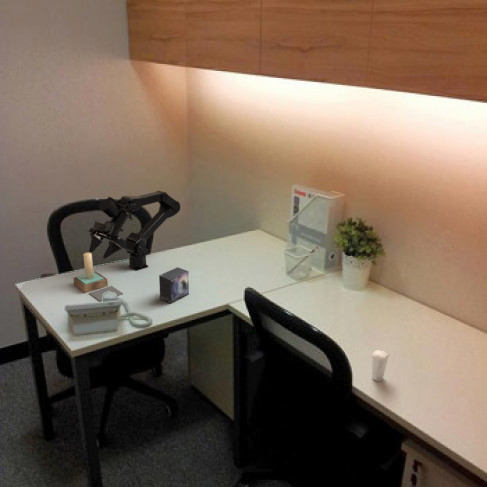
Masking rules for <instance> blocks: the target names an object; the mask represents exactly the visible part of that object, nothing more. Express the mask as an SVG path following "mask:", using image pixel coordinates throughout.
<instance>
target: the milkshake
mask: <svg viewBox="0 0 487 487" xmlns="http://www.w3.org/2000/svg"><path fill="white" fill-rule="evenodd" d="M371 355H372V356H371V357H372V360H371V361H372V362H371V363H372V367H371V369H372V370H371V378H372V380H373V381H375V382H383V380H384V377H385V372H386V368H387V363H388V359H389V356H390V354H387V352H385V351H384V350H381V349H380V350H379V349H377V350H375V351H373V352H372V354H371Z"/></svg>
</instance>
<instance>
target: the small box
mask: <svg viewBox="0 0 487 487" xmlns="http://www.w3.org/2000/svg"><path fill="white" fill-rule="evenodd" d="M189 274H190V272H189V271H188V270H186V269H183V268H180V267H178V266H177V267H175V268H172V269H171V270H170V269H169V270H168V271H166V272H164V273H163V272H162V273H161V274H159V275H158V277H159V278H158V281H159V300H161V301H163V302H166V303H168V304H170V305H171V304H173V303H175V302H177V301H178V300H181V299H183V298H186V297H187V296H189V295H190V289H189V287H190V286H189V285H190V284H189V283H190V281H189Z"/></svg>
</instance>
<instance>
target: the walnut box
mask: <svg viewBox="0 0 487 487" xmlns="http://www.w3.org/2000/svg"><path fill="white" fill-rule="evenodd" d="M93 272H95V273H96V274H98V275H99V276H101V277H103V278H104V279H103V280H100V281H96V282H93V283H90V284H86V285H84V284H83V283H81V282H80V281H79V280H77V279H76V277H79V276H83V275H86V274H81V275H78V276H74V277H73V278H72V282H73V286H75V287H76V288H77V289H78V290H80V291H81V292H83V293H84V294H87V293H90V292H94V291H97V290H100V289H103V288H106V287H109V286H108V278H107V277H106V276H103V275H102V274H100V273H99V272H97V271H96V270H95V271H94V270H93Z"/></svg>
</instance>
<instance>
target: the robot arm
mask: <svg viewBox="0 0 487 487" xmlns="http://www.w3.org/2000/svg"><path fill="white" fill-rule="evenodd" d="M155 203H158V204H159V208H158V211H157V212H156V213H155V215H153V217H152V218H151V219H150V220H149V221H148V222H147V223H146V224H145V225H144V226H143V227H141V229H140V230H139V231H138V232H133V231H132V232H130V234H129V235H128V236H127V237H125V239H123V238H122V237H121V236H119V234H120V232H121V233H123V231H124V229H123V227H124V225H125V224H126V223H127V221H128V220H129V221H132V220H133V217H132V213H133V212H137V211H139V210H140V209H141V208H142V207H145V206H147V205H151V204H155ZM98 206H99V207H98V209H99V210H100V211H101V212H102V213H103V214H105V215H106V216H107V217H108V218H109V219H110V220H105V222H101V221H97V220H94V224H93V227H90V228H89V230H88V234H89V236H90V238H91V242H90V246H89V250H88V252H90V253H93V252H94V251H96V249H97V248H98V247H99V246H100V245H101V244H102V243H103V240H107V241H108V247H107V248H106V250H105V252H104V254H103V256H102V258H103V259H104V260H106V259H107V258H109V257H110V256H112V255H113V254H114V253H117V252H118V251H120V250H121V251H122V250H123V249H124V250H125V251H126V253H127V254H129V258H128V263H129V264H128V267H129V268H131V269H133V271H134V270H135V271H139V270H142V269H145V268H148V267H149V265H148V264H147V256H148V255H149V252H150V250H149V249H148V248H147V247H146V246H147V241H148V239H149V238H150V237H151V236H152V235H153V234H154V233H155V232H156V231H157V230H158V229H159V228H160V227H161V225H163V224H164V222H165V221H166V220H167V219H169V218H172V217H175V216H176V215H177V214H178V213H179V212H180V210H181V203H180V201H178V200H176V199H174V198H173V197H171V195H169V194H168V192H165V191H162V190H156V191H153V192H150V193H144V194H141V195H124V196H123V195H122V196H121V197H120V199H118V200H115V199H114V198H113V197H111V196H108V197H107V198H106V199H104V200H102V201H101V202H100V204H99V205H98ZM130 212H131V213H130Z"/></svg>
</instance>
